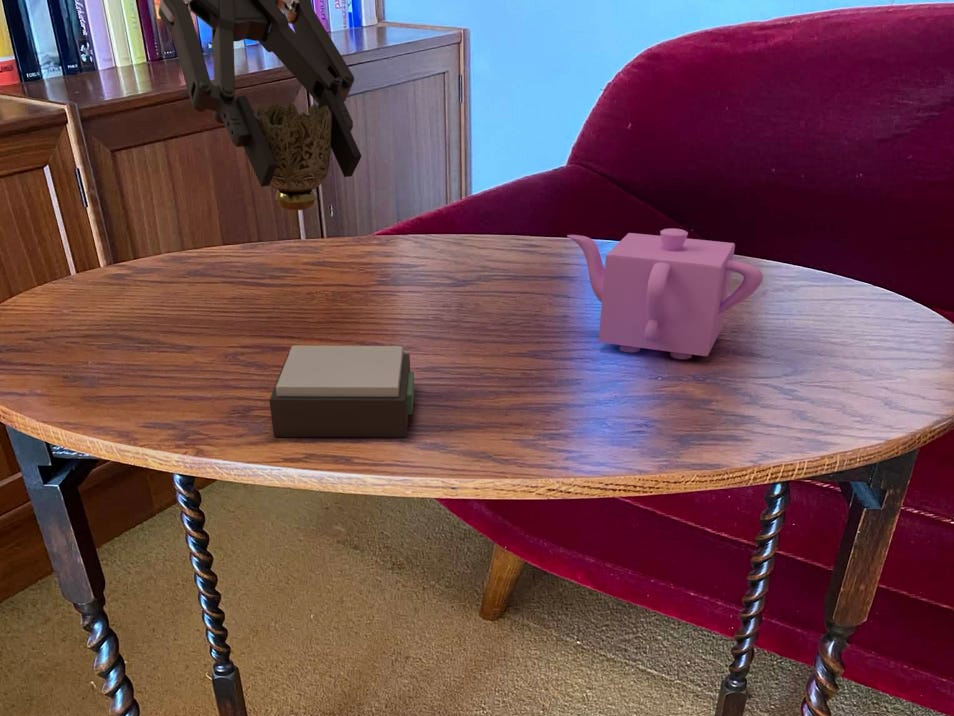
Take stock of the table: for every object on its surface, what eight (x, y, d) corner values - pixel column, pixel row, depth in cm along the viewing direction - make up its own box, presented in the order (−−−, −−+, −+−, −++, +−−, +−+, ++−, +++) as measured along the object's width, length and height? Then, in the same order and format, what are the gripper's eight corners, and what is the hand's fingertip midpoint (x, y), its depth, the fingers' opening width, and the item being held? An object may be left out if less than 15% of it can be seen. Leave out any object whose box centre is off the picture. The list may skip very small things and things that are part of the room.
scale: (273, 437, 72) (267, 388, 70) (291, 387, 81) (286, 343, 78) (411, 437, 73) (410, 389, 70) (415, 388, 81) (414, 343, 79)
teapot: (541, 352, 88) (547, 236, 83) (581, 309, 99) (589, 203, 93) (739, 378, 84) (761, 257, 78) (758, 331, 94) (778, 221, 88)
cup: (241, 213, 85) (229, 111, 80) (274, 196, 91) (264, 100, 86) (321, 219, 84) (313, 116, 79) (349, 201, 90) (343, 104, 85)
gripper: (298, -26, 92) (395, 186, 91) (86, -27, 82) (192, 212, 81) (321, -96, 86) (426, 132, 85) (94, -107, 76) (210, 152, 75)
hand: (312, 170), depth 83 cm, fingers closed on cup, 7 cm apart
